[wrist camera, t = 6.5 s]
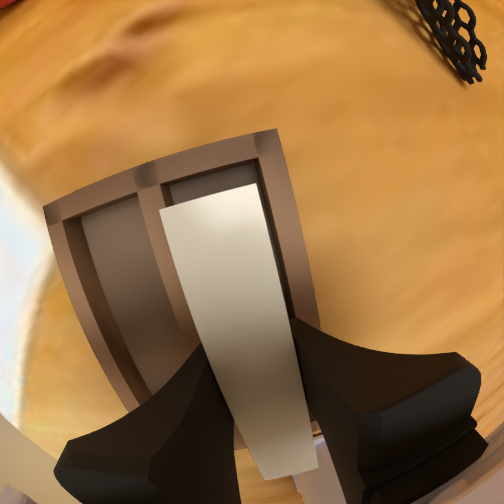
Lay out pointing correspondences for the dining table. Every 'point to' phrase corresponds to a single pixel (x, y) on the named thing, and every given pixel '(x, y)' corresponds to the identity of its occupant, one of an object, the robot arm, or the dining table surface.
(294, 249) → the rack
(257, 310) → the clay strip
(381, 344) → the dining table surface
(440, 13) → the decorative element
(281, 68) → the dining table surface
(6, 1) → the citrus juicer
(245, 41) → the dining table surface
